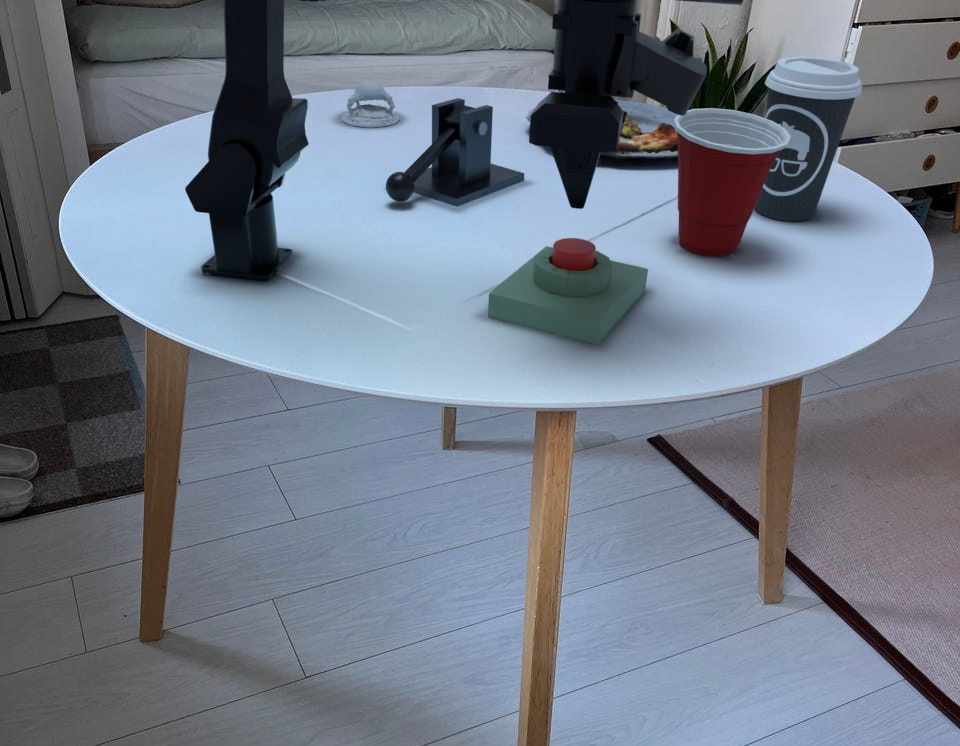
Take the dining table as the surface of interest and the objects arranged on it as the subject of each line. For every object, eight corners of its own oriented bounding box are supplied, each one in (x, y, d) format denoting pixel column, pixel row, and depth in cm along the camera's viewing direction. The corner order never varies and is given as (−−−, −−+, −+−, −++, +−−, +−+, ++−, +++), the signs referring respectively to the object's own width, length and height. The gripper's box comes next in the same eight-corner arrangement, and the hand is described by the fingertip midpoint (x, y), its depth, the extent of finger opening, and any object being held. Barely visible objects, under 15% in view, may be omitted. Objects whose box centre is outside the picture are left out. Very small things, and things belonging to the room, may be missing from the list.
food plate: (744, 169, 113) (750, 139, 111) (564, 177, 108) (567, 147, 106) (663, 114, 132) (666, 88, 130) (508, 119, 127) (509, 92, 125)
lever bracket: (456, 209, 98) (458, 125, 93) (395, 189, 103) (393, 107, 97) (524, 183, 106) (529, 103, 100) (464, 165, 110) (466, 88, 105)
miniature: (392, 129, 121) (391, 90, 119) (335, 125, 122) (332, 87, 119) (404, 113, 128) (403, 76, 125) (349, 109, 128) (347, 72, 126)
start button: (584, 277, 76) (586, 257, 75) (544, 268, 78) (546, 248, 77) (599, 262, 79) (602, 243, 78) (561, 253, 80) (563, 234, 79)
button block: (597, 345, 74) (602, 300, 72) (487, 317, 78) (489, 272, 75) (645, 291, 83) (651, 249, 81) (544, 267, 86) (547, 226, 84)
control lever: (405, 210, 96) (397, 187, 94) (385, 203, 98) (376, 181, 95) (483, 129, 101) (476, 105, 98) (462, 124, 102) (455, 100, 100)
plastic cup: (706, 277, 86) (732, 147, 79) (633, 237, 93) (650, 115, 86) (787, 255, 91) (818, 131, 84) (711, 220, 98) (733, 102, 91)
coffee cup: (842, 227, 98) (883, 77, 89) (755, 226, 97) (788, 75, 88) (809, 196, 105) (844, 55, 96) (728, 195, 105) (756, 54, 96)
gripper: (710, 27, 58) (671, 261, 67) (711, -16, 72) (680, 181, 82) (535, 14, 59) (521, 245, 68) (572, -26, 74) (556, 168, 83)
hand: (577, 207), depth 75 cm, fingers closed
